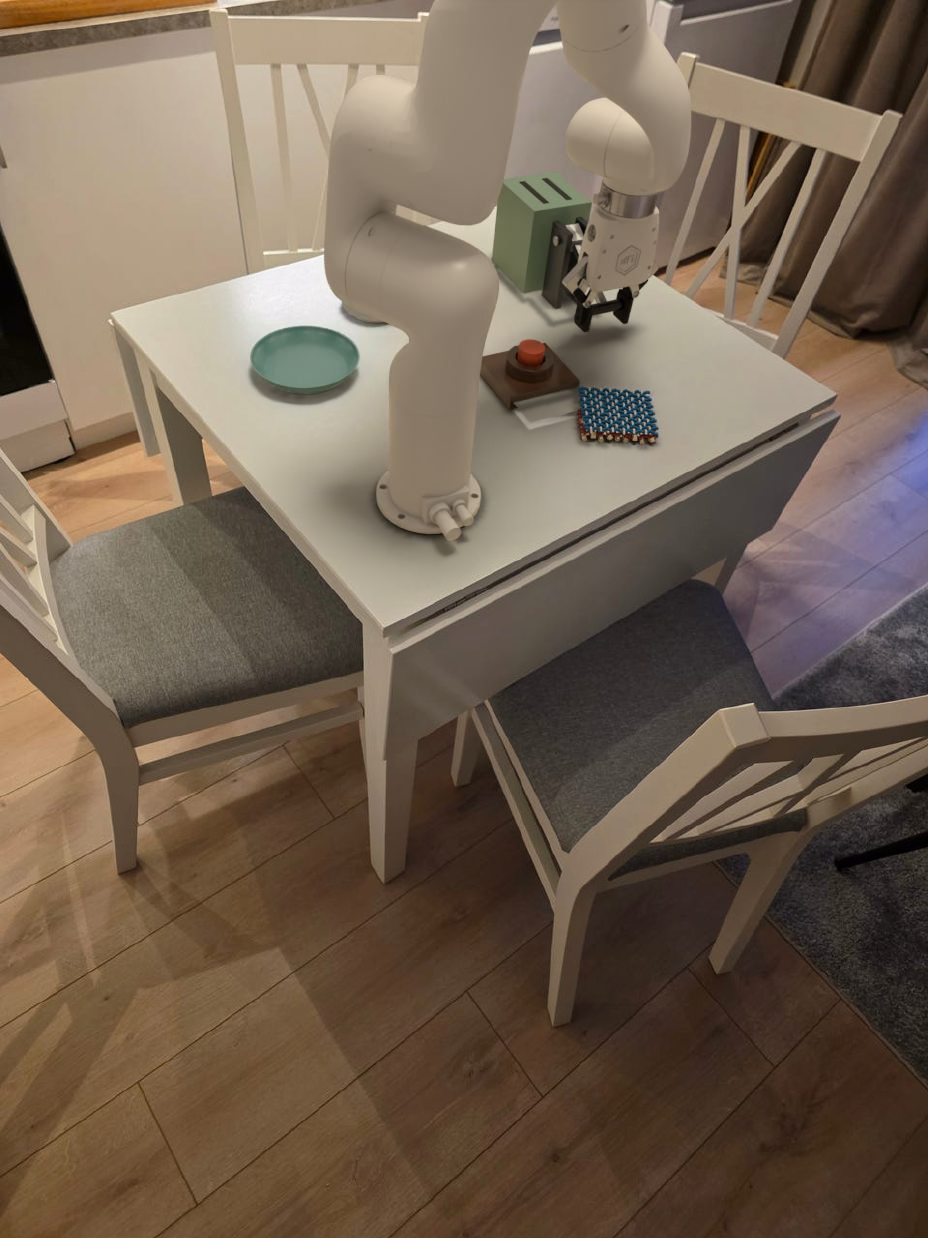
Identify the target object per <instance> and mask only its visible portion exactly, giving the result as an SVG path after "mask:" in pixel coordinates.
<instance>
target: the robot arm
mask: <svg viewBox="0 0 928 1238" xmlns="http://www.w3.org/2000/svg"><path fill="white" fill-rule="evenodd" d="M554 7H555V8H556V9H555V10H556V14H557V21H558V27H559V32H560V39H561V45H562V51H563V55H564V58H565V59H566V62H567V64H568V65H569V67H570V68H571V70H573V72H575V74H576V75H577V76H579V77H580V79H582V80H583V81H584V82H585V83H586V84H587V85H589V86H590V87H591V88H592V89H594V90H595V91H596V92H598V93H599V94H600V95H602V96H603V97H599V98H595V99H592V100H590V101H587V102H586V103H585V104H583V105H582V106H581V107H580V108H579V109H578V110H577V111H576V112H575V113H574V115H573V116H572V118H571V120H570V121H569V124H568V126H567V129H566V133H565V138H564V146H565V152H566V155H567V157H568V159H569V161H571V163H572V164H573V165H574V166H576V167H577V168H580V169H581V170H583V171H585V172H589V173H591V174H594V175H597V176H601V177H602V180H601V186H600V189H599V191H598V193H594V194H593V196H592V204H593V205H594V206H593V209H592V210H591V213H590V217H589V222H588V224H587V228H586V231H585V234H584V237H583V241H582V245H581V249H580V254H579V258H578V264H577V265H576V266H575V267H574V268H573V269H572V270H571V271H570V272H569V274H568V275H567V276H566V277H565V278H564V279H563V281H562V283H563V284H564V285H565V286H566V288H567V289H568V290H569V291H570V292H571V293H572V295H573V296H574V297H575V298H576V299H577V300H578V301H577V304H576V307H575V312H574V318H573V321H574V324H575V325H576V326H577V327H578V328H579V330H581V331H582V332H583V333H584V334H585V333H589V331H590V330H591V329H590V328H591V324H592V319H593V316H592V315H593V310H594V308H593V306H592V305H591V304H593V302H594V301H595V296H596V295H597V293H598V292H602V291H603V292H607V291H608V292H609V291H612V290H613V291H614V290H617V289H618V291H617V292H616V297H615V299H620V298H621V299H623V301H624V308H623V309H622V310H618V311H613V312H612V316H614V317H615V318H616V319H617V320H618V321H619V322H620V323H621V324H623V325H627V324H628V323H629V320H630V316H631V312H632V309H633V304H634V300H635V299H636V298H638V297H639V296H640V291H641V289H642V288H644V286H645V285H646V284H647V283H648V282H649V280H650V279H651V278H652V277H653V275H655V273H656V272H657V271H658V270H659V268H660V266H659V264H658V263H657V261H656V260H655V257H656V256H655V255H656V252H657V251H656V250H657V246H658V245H657V244H658V239H659V228H660V209H659V208H658V207H657V203H658V198H659V195H660V193H662V192H664V191H667V190H669V189H670V188H671V187H673V186H674V185H675V184H676V182H677V181H678V180H679V179H680V177H681V175H682V173H683V172H684V170H685V167H686V164H687V161H688V157H689V153H690V145H691V138H692V99H691V98H692V97H691V93H690V88H689V86H688V83H687V81H686V78H685V76H684V75H683V73H682V71H681V69H680V68H679V66H678V64H677V63H676V61H675V59H674V58H673V56H672V55H671V54H670V51H669V50H668V49H667V47H666V46H665V44H664V43H663V41H662V40H661V39H660V37H659V36H658V34H656V32H655V30H654V29H652V28H651V26H650V24H649V23H648V11H647V10H648V7H647V0H434V1H433V2H432V5H431V7H430V10H429V12H428V16H427V19H426V22H425V23H426V24H425V28H424V34H423V42H422V47H421V48H422V49H421V54H420V62H419V67H418V75H417V80H416V82H412V81H409V80H407V79H404V78H400V77H397V76H394V75H389V74H372V75H369V76H366V77H363V78H362V79H360V80H359V81H357V82H355V84H354V85H353V86H352V87H351V88H350V89H349V90H348V92H347V93H346V94H345V96H344V98H343V100H342V101H341V103H340V106H339V108H338V111H337V113H336V115H335V119H334V122H333V126H332V131H331V137H330V143H329V144H330V145H329V155H328V169H327V185H326V187H327V188H326V203H325V204H326V205H325V221H324V222H325V223H324V224H325V225H324V242H323V243H324V244H323V262H324V263H323V264H324V265H323V266H324V274H325V279H326V282H327V284H328V287H329V289H330V290H331V292H332V293H333V295H334V296H335V297H336V298H337V299H338V300H339V301H341V303H342V302H344V303H345V304H347V305H349V306H351V307H353V308H355V309H357V310H360V311H362V312H364V313H366V314H368V315H371V316H373V317H375V318H377V319H380V320H382V321H384V322H385V323H386V324H389V325H390V326H392V327H394V328H396V329H398V330H399V331H401V332H403V333H404V334H405V335H407V337H408V342H407V343H406V344H405V345H404V346H403V347H401V348H399V351H398V352H396V353H395V355H394V357H393V359H392V361H391V363H390V366H389V372H388V461H389V462H388V469H387V470H386V471H384V473H383V474H382V475H381V476H380V478H379V480H378V482H377V485H376V489H375V490H376V491H375V495H376V497H375V498H376V505H377V506H378V509H379V511H380V512H381V514H382V515H383V516H384V517H385V518H386V519H387V520H388V521H389V522H391V523H392V524H394V525H396V526H397V527H399V528H401V529H404V530H406V531H409V532H412V533H418V534H426V535H436V534H437V535H439V534H443V536H444V538H445V540H447V541H449V542H452V541H455V540H457V539H458V538H459V537H460V536H461V534H462V530H461V528H462V527H470V526H471V525H473V524H474V522H475V516H476V515H478V512H479V509H480V507H481V501H482V490H481V487H480V484H479V482H478V481H477V478H476V477H474V475H473V474H472V473H471V471H472V461H473V451H474V440H475V431H476V419H477V408H478V399H479V388H480V379H481V375H480V371H481V363H482V357H483V356H484V351H485V346H486V342H487V337H488V334H489V330H490V328H491V323H492V320H493V318H494V313H495V311H496V308H497V303H498V299H499V294H500V293H499V292H500V278H499V273H498V270H497V269H496V265H495V264H494V263H493V262H492V259H490V258H489V256H488V255H486V254H485V252H483V251H482V250H480V249H479V248H478V247H476V246H475V245H474V244H472V243H469V242H467V241H466V240H463V239H461V238H458V237H456V236H454V235H452V234H448V233H446V232H444V231H442V230H438V229H436V228H434V227H431V226H428V225H425V224H421V223H418V222H415V221H413V220H411V219H408V218H407V217H403V216H400V215H398V214H397V207H398V206H401V207H404V208H406V209H409V210H411V211H414V212H416V213H419V214H422V215H425V216H428V217H430V218H433V219H436V220H438V221H442V222H445V223H449V224H452V225H457V226H469V227H470V226H475V225H478V224H481V223H483V222H484V221H485V220H487V219H488V218H489V217H490V215H492V212H493V211H494V209H495V207H497V202H498V198H499V195H500V192H501V188H502V184H503V180H504V179H505V175H506V170H507V165H508V159H509V154H510V150H511V143H512V138H513V135H514V128H515V123H516V117H517V113H518V108H519V102H520V96H521V92H522V91H521V90H522V86H523V81H524V77H525V72H526V69H527V63H528V60H529V55H530V53H531V50H532V47H533V44H534V41H535V39H536V37H537V35H538V33H539V31H540V29H541V27H542V25H543V24H544V22H545V21H546V19H547V17H548V16H549V15H550V13H551V11H552V10H553V8H554ZM581 278H582V281H581V283H580V285H579V287H578V285H577V283H578V281H579V280H580V279H581ZM588 288H589V289H588ZM587 290H588V291H587ZM586 292H587V293H586ZM384 322H383V323H384Z"/></svg>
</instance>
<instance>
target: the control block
mask: <svg viewBox="0 0 928 1238" xmlns="http://www.w3.org/2000/svg"><path fill="white" fill-rule="evenodd" d="M542 343H543V344H544V346H545V352H544V359H543V363H542V364H541V365H538V366H526V365H523V364H521V363H519V361H518V359H517V356H518V349H519V344H518V345H514V346H512V347H511V348H509V350H505V351H500V352H496V353H491V354H486V355H483V357H482V363H481V371H480V377H481V378H482V379H483V380H484V381H485V383H486V384H487V386H488V387H490V388H491V390H492V391H493V392H494V393H495V395H496V396H497V397H498V399H499V400H500V401H501V402H502V404H503V405H504V406H505V408H507V409H508V410H509V411H512V410H516V409H518V408H519V407H518V406H517V405H516V404H515V403H517V402H520V401H524V400H531V399H533V398H538V397H542V396H546V395H550V394H554V393H558V392H562V391H563V392H564V391H566V390H570V389H575V388H580V384H581V379H580V378H579V377H578V375H576V374H575V373H574V372H573V371H572V370H571V369H570V368H569V367H568V365H567V364H566V363H565V362H564V361H563V360H562V359H561V358H560V357H559V356H558V355H557V354H556V353H555V351H554V350H553V349H552V348H551V347H550V346H549V345H548V344H547V343H546V342H542Z"/></svg>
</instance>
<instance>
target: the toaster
mask: <svg viewBox="0 0 928 1238" xmlns="http://www.w3.org/2000/svg"><path fill="white" fill-rule="evenodd" d="M592 204H593V201H592V200H590V199H589V198H588V197H587V196H586V195H585V194H583V193H582V192H581V191H579V190H578V189H577V188H576V187H574V186H573V185H572V184H571V183H570V182H569V181H568V180H566V179H565V178H564V177H562V175H560V174H559V173H558V172H557V171H551V172H545V173H537V174H531V175H524V176H517V177H515V176H514V177H509V178H508V177H507V178H504V180H503V184H502V188H501V192H500V195H499V198H498V201H497V203H496V213H495V224H494V234H493V243H492V244H493V245H492V255H491V262H492V263H493V265H494V266H495V267H497V268H498V269H499V270H500V271H501V273H503V274H504V275H505V276H506V277H507V278H508V279H509V281H510V282H511V283H513V284H514V285H515V287H516V288H517V289H518V290H519V291H520V292H521V293H522V294H529V293H533V292H534V293H535V292H539V291H542V290H543V283H544V277H545V270H546V264H547V257H548V250H549V244H550V237H551V231H552V224H553V221H559V222H560V223H562V224H563V225H564V226H566V225H571V224H575V221H576V218H577V217H582V218H583V219H585V220H586V221H587V222H589V219H590V216H591V212H592V206H593V205H592Z"/></svg>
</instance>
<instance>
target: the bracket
mask: <svg viewBox="0 0 928 1238" xmlns="http://www.w3.org/2000/svg"><path fill="white" fill-rule="evenodd" d="M577 223H578V224H579V226H580V228H581V230H582V232H583V234H585V231H586V228H587V224H588V222H587V221H586V220H585V219H583V218H582V217H577V218H576V221H575V224H577ZM572 240H573V233H572V232H571V231H569V230H568V229H567V228H566V227H565V226H564V225H563V224H562V223H560V222H559V221H553V224H552V231H551V237H550V244H549V250H548V257H547V264H546V270H545V277H544V283H543V290H541V297H543V298H544V299H545V301H547V302H548V304H549V305H551V307H552V308H553V309H555V310H559V309H561V308H562V303H563V297H564V293H565V294H566V295H567V296H568V297H569V298H570V299H571V300H572V301H573V303H575V304H576V305H577V301H578V300H577V299H576V298H575V297H574V296H573V295H572V293H571V292H570V291H569V290H568V289H567V288H566V286H565V285H564V284H563V283H562V281H563V279H564V278H565V277H566V276H567V275H568V274H569V272H570V271H571V270H572V269H573V268H574V267H575V266H576V265H577V264H578V261H577V258H576V256H575V254H574V252H573V251H572V252H570V251H571V246H572ZM581 281H582V278H581V279H580V280H579V281H578V283H577V285H578V287H579V285H580V283H581Z"/></svg>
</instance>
